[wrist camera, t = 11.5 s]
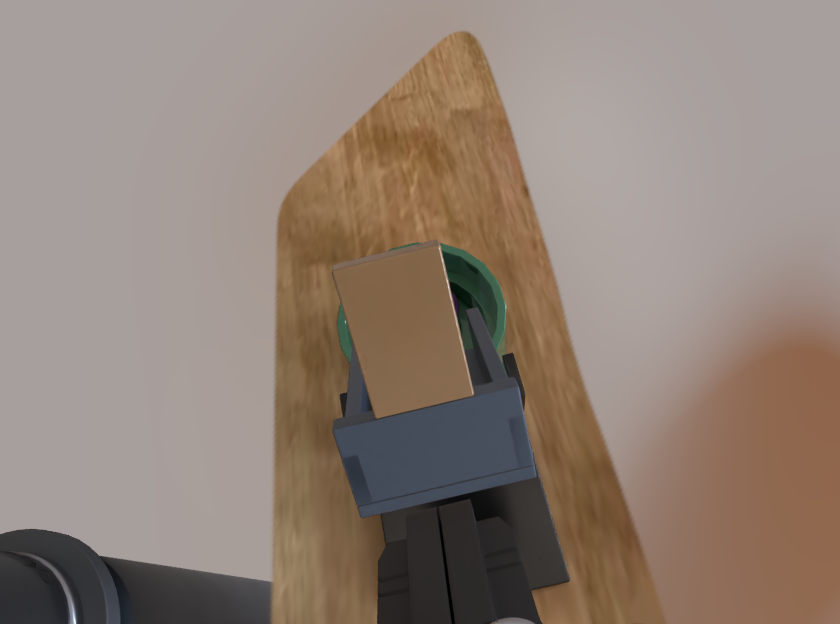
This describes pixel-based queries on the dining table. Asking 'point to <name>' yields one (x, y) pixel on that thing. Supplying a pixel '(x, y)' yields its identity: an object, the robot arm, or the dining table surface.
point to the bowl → (460, 299)
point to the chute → (422, 388)
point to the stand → (504, 514)
